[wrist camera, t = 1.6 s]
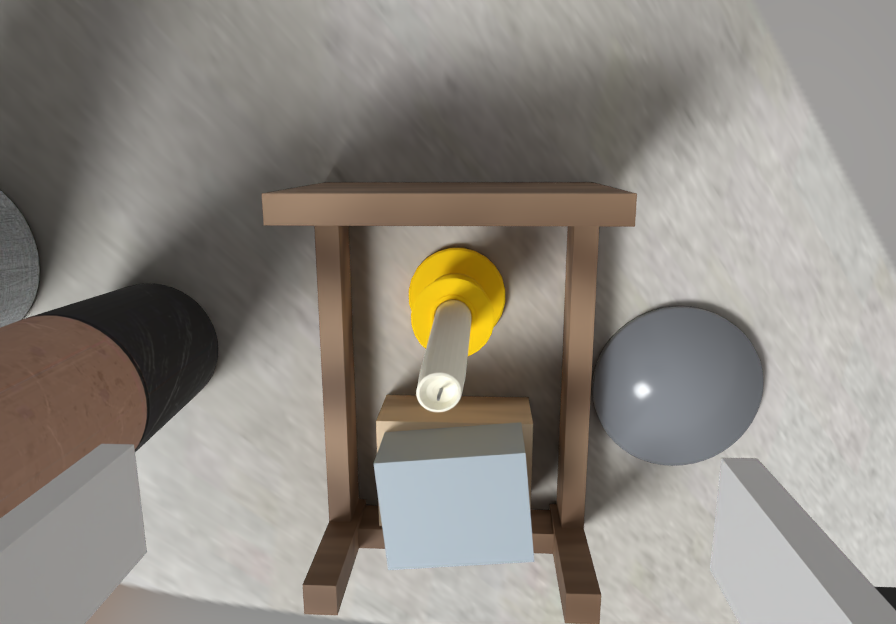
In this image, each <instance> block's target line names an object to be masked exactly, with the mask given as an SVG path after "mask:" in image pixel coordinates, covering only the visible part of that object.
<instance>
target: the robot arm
mask: <svg viewBox="0 0 896 624" xmlns="http://www.w3.org/2000/svg"><path fill="white" fill-rule="evenodd" d="M146 552H147V548H146V540H145V532H144V523H143V515H142V507H141V498H140V490H139V482H138V473H137V465H136V457H135V448H134V444H100V445H99V446H98V447H96V448H95V449H94V450H92V451H91V452H90V453H88V454H87V455H86V456H84V457H83V458H81V459H80V460H79V461H77V462H76V463H75V464H73V465H72V466H71V467H69V468H68V469H67V470H65V471H64V472H63V473H61V474H60V475H58V476H57V477H56V478H54V479H53V480H52V481H50V482H49V483H48V484H46V485H45V486H44V487H42V488H41V489H39V490H38V491H37V492H35V493H34V494H33V495H31V496H30V497H29V498H27V499H26V500H25V501H23V502H22V503H21V504H19V505H18V506H16V507H15V508H14V509H12V510H11V511H10V512H8V513H7V514H6V515H4V516H3V517H2V518H0V624H85V623H86V622H87V621H88V620H89V618H90V617H91V616H92V615H93V614H94V613H95V611H96V610H97V609H98V608H99V606H101V604H102V603H103V602H104V601H105V600H106V599H107V598H108V596H109V595H110V594H111V593H112V592H113V591H114V589H115V588H116V587H117V586H118V585H119V584H120V583H121V581H122V580H123V579H124V578H125V577H126V576H127V574H128V573H129V572H130V571H131V570H132V569H133V567H134V566H135V565H136V564H137V563H138V562H139V561H140V559H141V558H142V557H143V556H144V555H145V554H146ZM710 571H711V573H712V574H713V576H714V578H715V580H716V582H717V584H718V585H719V587H720V589H721V591H722V593H723V595H724V596H725V598H726V600H727V602H728V604H729V606H730V607H731V609H732V611H733V613H734V615H735V617H736V618H737V620H738V622H739V624H896V588H895V587H874V586H873V585H872V584H871V583H870V582H869V581H868V579H867V578H866V577H865V576H864V575H863V574H862V573H861V572H860V571H859V570H858V569H857V567H856V566H855V565H854V564H853V563H852V562H851V561H850V560H849V559H848V558H847V556H846V555H845V554H844V553H843V552H842V551H841V550H840V549H839V548H838V547H837V545H836V544H835V543H834V542H833V541H832V540H831V539H830V538H829V537H828V536H827V534H826V533H825V532H824V531H823V530H822V529H821V528H820V527H819V526H818V525H817V523H816V522H815V521H814V520H813V519H812V518H811V517H810V516H809V515H808V514H807V512H806V511H805V510H804V509H803V508H802V507H801V506H800V505H799V504H798V503H797V501H796V500H795V499H794V498H793V497H792V496H791V495H790V494H789V493H788V492H787V490H786V489H785V488H784V487H783V486H782V485H781V484H780V483H779V482H778V481H777V479H776V478H775V477H774V476H773V475H772V474H771V473H770V472H769V471H768V470H767V468H766V467H765V466H764V465H763V464H762V463H761V462H760V461H759V460H758V459H757V458H721V466H720V476H719V486H718V496H717V506H716V516H715V526H714V536H713V545H712V555H711V565H710Z"/></svg>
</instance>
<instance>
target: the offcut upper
mask: <svg viewBox="0 0 896 624" xmlns="http://www.w3.org/2000/svg"><path fill="white" fill-rule="evenodd" d="M374 471H375V478H376V485H377V492H378V499H379V507H380V514H381V521H382V528H383V535H384V543H385V550H386V557H387V564H388V570H398V569H416V568H433V567H451V566H468V565H486V564H503V563H521V562H534V553H533V540H532V528H531V515H530V503H529V490H528V478H527V466H526V453H525V446H524V439H523V432H522V424H521V422H518V423H504V424H490V425H477V426H463V427H449V428H436V429H422V430H408V431H395V432H385V433H384V436H383V438H382V441H381V444H380V447H379V450H378V452H377V455H376V458H375V461H374Z"/></svg>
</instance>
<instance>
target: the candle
mask: <svg viewBox="0 0 896 624" xmlns="http://www.w3.org/2000/svg"><path fill="white" fill-rule="evenodd" d="M409 305H410V308H411V311H412V313H411V325H412V328H413V331H414V334H415V336H416V338H417V339H418V341H419V342H420V344H421V345H422V346H423V347H424V348H425V349H426V351H425V355H424V359H423V362H422V366H421V370H420V374H419V379H418V386H417V390H416V396H417V399H418V402H419V403H420V404H421V406H423V407H424V408H425V409H427V410H429V411H432V412H444V411H447V410H449V409H451V408H453V407H454V406H455V405H456V404H457V403H458V402H459V400H460V398H461V395H462V391H463V387H464V382H465V378H466V368H467V358H468V356H470V355H472V354H474V353H475V352H477V351H479V350H480V349H481V348H482V347H483V346H484V345H485V344H486V343H487V341H488V339H489V338H490V336H491V334H492V330H493V327H494V326H495V325H496V324H497V322H498V320H499V319H500V317H501V315H502V312H503V309H504V305H505V287H504V283H503V280H502V276H501V275H500V273H499V271H498V270H497V268H496V266H495V265H494V264H493V263H492V262H491V261H490V260H489V259H488V258H487V257H485V256H484V255H482V254H480V253H478V252H476V251H474V250H470V249H466V248H447V249H444V250H441V251H437V252H436V253H434V254H432V255H431V256H429V257H427V258H426V259H425V260H424V261H423V262H422V263H421V264H420V265H419V266H418V268H417V270H416V271H415V273H414V275H413V277H412V279H411V283H410V287H409Z"/></svg>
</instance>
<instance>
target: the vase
mask: <svg viewBox="0 0 896 624" xmlns="http://www.w3.org/2000/svg"><path fill="white" fill-rule="evenodd" d="M39 272H40V268H39V257H38V251H37V247H36V243H35V240H34V237H33V235H32V232H31V230H30V228H29V226H28V224H27V222H26V220H25V219H24V217H23V215H22V214H21V212H20V211H19V210H18V208H17V207H16V206H15V205H14V203H13V202H12V201H11V200H10V199H9V198H8V197H7V196H6V195H5V194H4V193H3V192H2V191H1V190H0V328H1V327H3V326H6V325H9V324H11V323H14V322H17V321H19V320H22V318H23V317H24V316H25V315H26V313H27V312H28V310H29V309H30V307H31V305H32V303H33V301H34V298H35V296H36V292H37V289H38V284H39Z"/></svg>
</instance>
